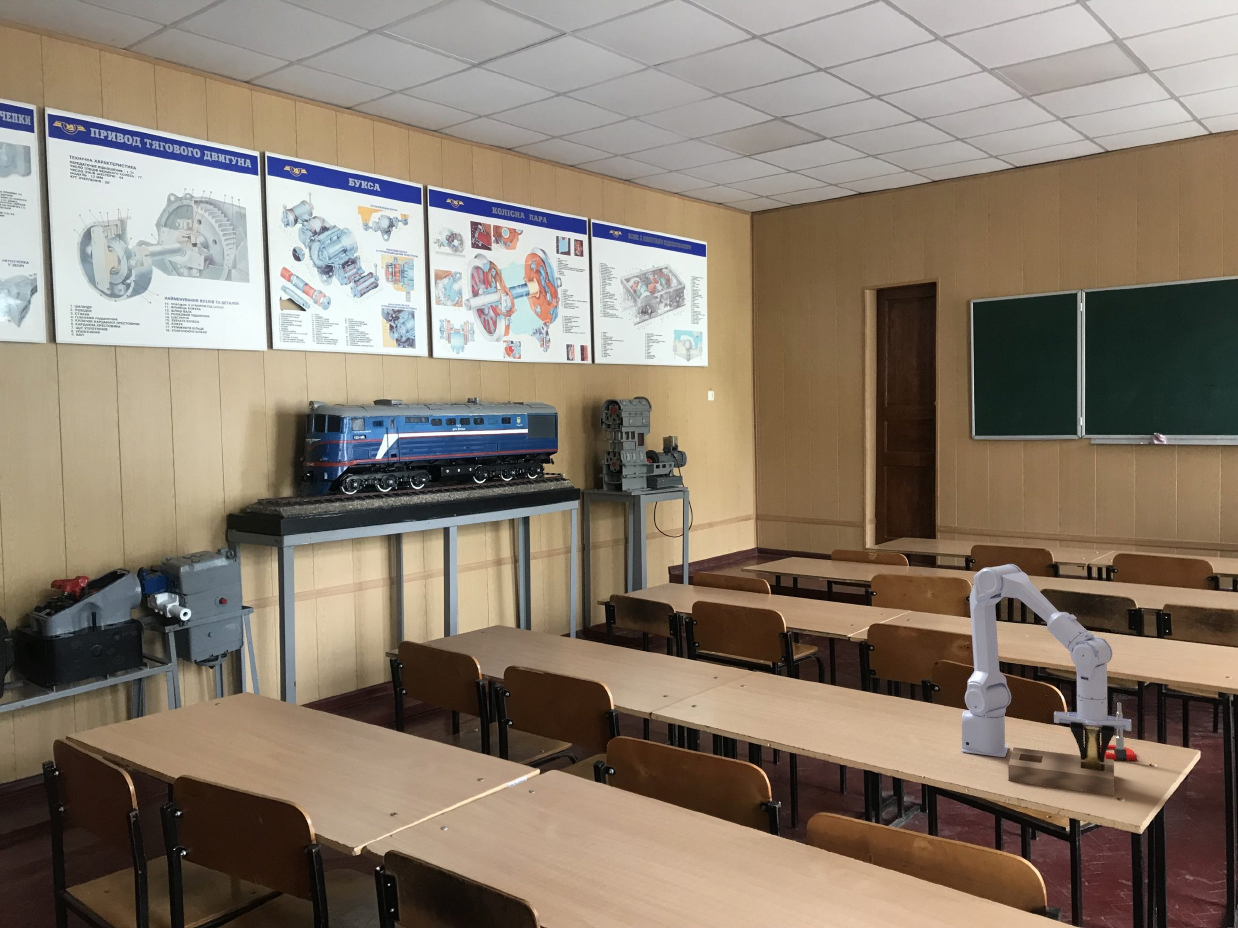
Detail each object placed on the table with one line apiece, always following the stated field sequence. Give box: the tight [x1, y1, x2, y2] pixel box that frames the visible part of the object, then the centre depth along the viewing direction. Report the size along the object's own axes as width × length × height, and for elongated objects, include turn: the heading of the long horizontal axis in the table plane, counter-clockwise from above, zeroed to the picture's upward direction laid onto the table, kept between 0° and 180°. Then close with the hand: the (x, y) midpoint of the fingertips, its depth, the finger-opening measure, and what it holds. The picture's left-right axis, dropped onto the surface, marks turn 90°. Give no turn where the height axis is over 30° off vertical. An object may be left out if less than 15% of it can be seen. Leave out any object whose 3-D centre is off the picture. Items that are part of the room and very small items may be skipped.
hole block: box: [1007, 746, 1115, 796], centre depth 201 cm, size 20×12×4 cm, turn 62°
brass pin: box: [1084, 725, 1101, 771], centre depth 198 cm, size 3×3×10 cm
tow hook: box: [1100, 702, 1138, 761], centre depth 215 cm, size 8×13×9 cm
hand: (1092, 759), depth 198 cm, fingers closed on brass pin, 3 cm apart
